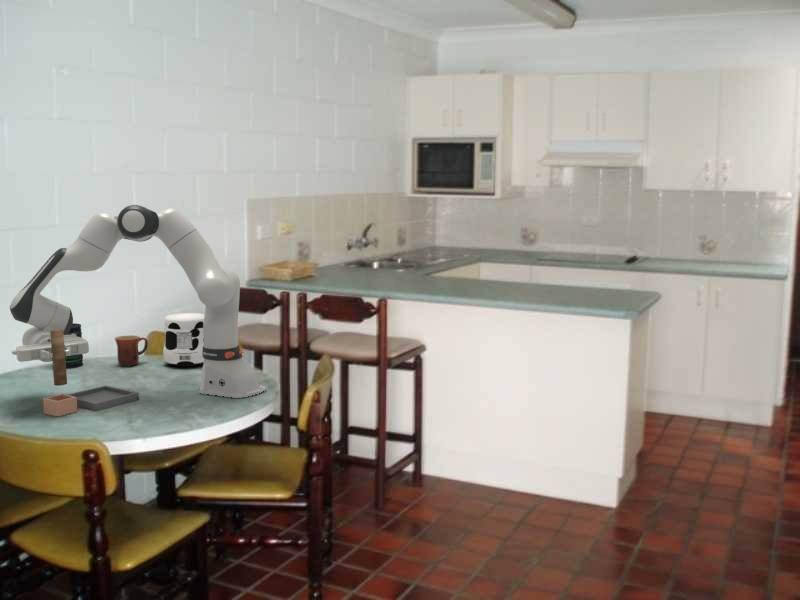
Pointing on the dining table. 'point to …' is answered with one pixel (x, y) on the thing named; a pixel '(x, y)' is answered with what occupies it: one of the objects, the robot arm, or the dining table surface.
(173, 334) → the milk container
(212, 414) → the dining table surface
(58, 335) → the dowel
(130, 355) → the mug
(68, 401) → the pot
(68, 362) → the storage jar
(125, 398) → the tray
